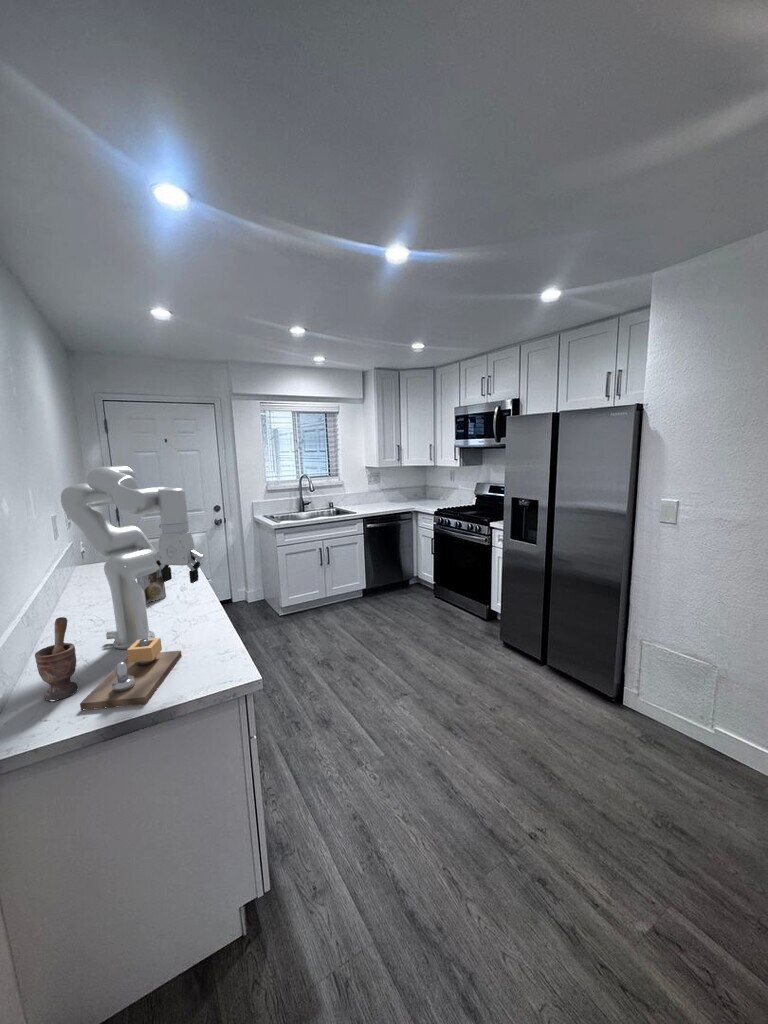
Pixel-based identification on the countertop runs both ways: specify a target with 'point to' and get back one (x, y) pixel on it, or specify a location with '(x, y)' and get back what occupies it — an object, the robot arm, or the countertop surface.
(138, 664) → the shiny metal knob
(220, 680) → the countertop surface
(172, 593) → the countertop surface
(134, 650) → the collar
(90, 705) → the board
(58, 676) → the mortar and pestle
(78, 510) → the robot arm
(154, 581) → the coffee box
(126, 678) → the silver round flared piece
